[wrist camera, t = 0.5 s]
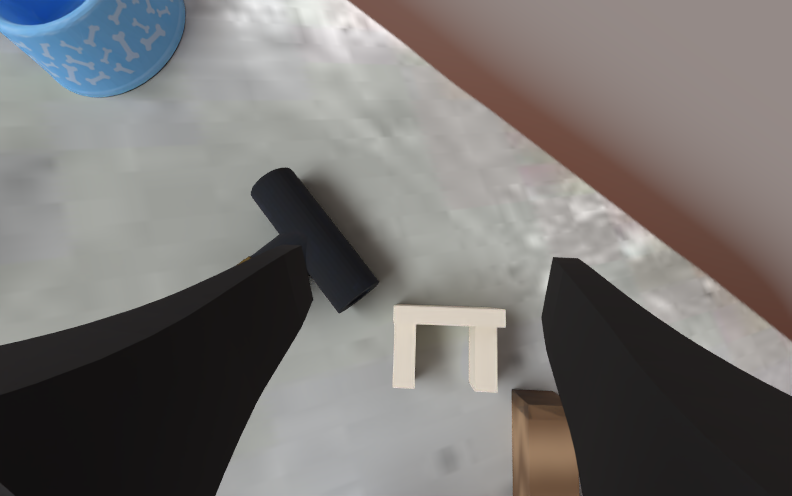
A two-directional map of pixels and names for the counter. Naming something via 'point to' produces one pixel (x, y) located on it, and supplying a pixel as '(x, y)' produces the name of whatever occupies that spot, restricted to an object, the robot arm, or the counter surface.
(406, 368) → the cream forked block
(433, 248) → the counter surface
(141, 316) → the robot arm
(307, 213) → the pipe connector
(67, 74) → the dog bowl
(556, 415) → the rail
